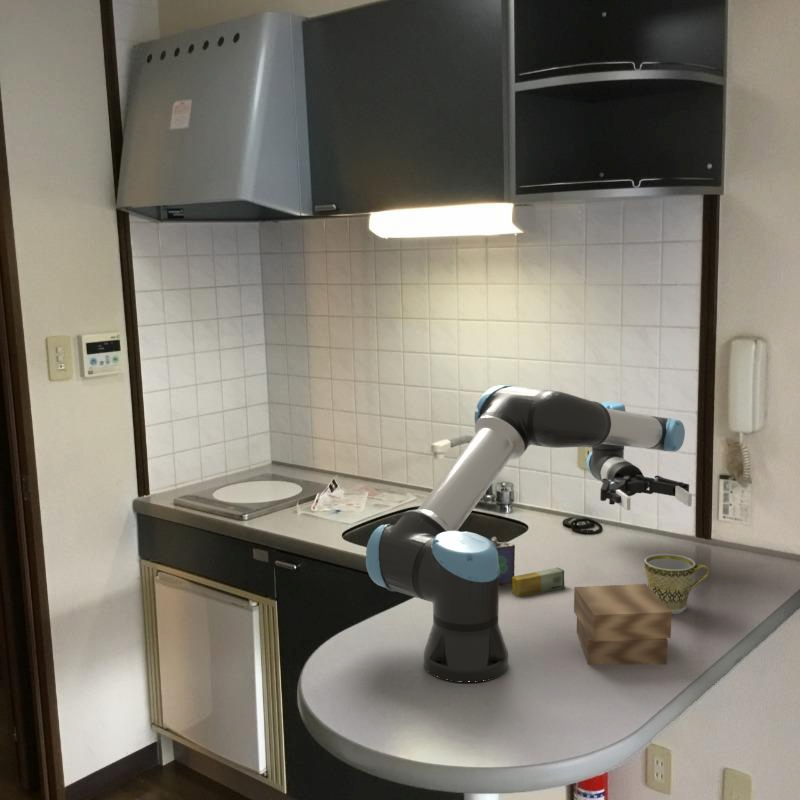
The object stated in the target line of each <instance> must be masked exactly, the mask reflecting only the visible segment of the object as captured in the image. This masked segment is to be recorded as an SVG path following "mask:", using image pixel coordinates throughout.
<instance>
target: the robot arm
mask: <svg viewBox="0 0 800 800" xmlns="http://www.w3.org/2000/svg"><path fill="white" fill-rule="evenodd" d="M476 408H477V410H475V411H474V432H475V435H474V436H473V438H471V440H470V441H469V443H467V445H466V446H465V448H464V449H463V450H462V451H461V453H460V454H459V455H458V456H457V458H456V459H455V461H454V462H453V463H452V464H451V466H450V467H449V468H448V470H447V471H446V472H445V473H444V475H443V476H442V478H441V479H440V480H439V481H438V483H437V484H436V485H435V486H434V488H432V490H431V492H430V493H429V494H428V495H427V496H426V498H425V499H424V500H423V501H422V503H421V505H419V507H418V508H417V509H411V510H407V511H405V512H404V513H403V515H402V516H401V517H400V518H399V520H397V522H396V523H395V524H391V523H387V524H381V525H379V526H378V527H377V528H375V530H373V532H372V533H371V535H370V538H369V539H368V541H367V544H366V549H365V566H366V570H367V573H368V576H369V577H370V579H371V580H372V581H373V583H374V584H375V585H377V586H380V587H381V588H382V587H383V588H386V589H387V590H388V591H390V592H398V593H400V594H403V595H404V594H405V595H407V596H410V597H414V598H417V599H420V600H423V601H427V602H430V603H431V604H432V608H433V609H432V616H433V618H432V619H433V621H432V627H431V629H430V632H429V636H428V639H427V641H426V645H425V647H424V650H423V666H424V668H425V670H426V669H427V670H428V671H429V672H430V673H431V674H430V673H429V672H428V671H427V670H426V671H427V672H428V673H429V674H430V675H432V674H433V675H432V676H434V675H435V676H434V677H436V676H438V677H440V678H443V679H442V680H444V679H448V680H452V681H451V682H453V681H462V682H468V681H470V682H474V683H476V682H475V681H482V682H484V681H483V680H487V681H489V680H488V679H491V680H493V679H492V678H494V679H496V678H498V677H500V676H501V674H502V675H503V674H504V673H505V672H506V671H507V670H508V667H509V652H508V648H507V646H506V643H505V639H504V637H503V633H502V631H501V628H500V624H499V609H500V607H499V602H500V601H499V599H500V598H499V591H500V590H499V589H500V587H499V586H500V585H499V573H500V567H499V563H498V551H497V549H496V547H495V545H494V544H493V543H492V540H491V539H490V538H487V537H485V536H482V535H481V534H478V533H475V532H471V531H466V530H465V531H459V529H460V528H461V527H462V525H463V524H464V522H465V521H466V519H467V518H468V517H469V516H470V515H471V513H472V511H473V510H474V509H475V507H476V506H477V505H478V503H479V502H480V501H481V499H482V498H483V496H484V495H485V494H486V492H487V491H488V490H489V488H490V487H491V485H492V484H493V483H494V481H495V480H496V479H497V478H498V476H499V475H500V474H501V472H502V470H504V468H505V467H506V465H507V464H508V462H509V461H510V460H516V459H519V458H521V457H522V456H523V455H524V453H525V452H526V450H527V449H528V447H529V446H538V447H544V448H554V449H555V448H556V449H557V448H560V449H561V448H563V449H564V448H591V451H590V452H589V454H588V456H587V458H586V468H587V470H588V472H589V473H590V474H591V475H592V476H593V478H594V479H596V480H598V481H600V482H601V488H600V501H602V502H604V501H605V502H606V501H607V500H609V503H608V504H609V505H613V506H614V505H615V504H618V505H619V506H621V508H623V509H625V510H626V511H631V496H634V495H636V494H648V495H652V494H654V493H655V494H660V495H666V496H669V497H674V498H675V499H676V500H678V502H680V503H682V504H684V505H685V506H687V507H692V504H693V503H692V499H693V493H692V492H690V484H689V483H686V482H683V481H677V480H673V479H669V478H665V477H663V476H660V475H654V477H649V476H648V477H647V476H644V474H643V472H642V470H641V469H640V468H639V467H638V466H636V465H634V464H633V463H631V462H630V461H628V460H626V459H625V458H624V456H625V453H624V452H625V447H630V448H631V447H633V448H641V449H646V450H647V449H649V450H657V451H663V452H672V453H673V452H677V451H679V450H681V448H682V447H683V445H684V442H685V435H686V432H685V431H686V430H685V426H684V423H683V422H682V421H681V420H679V419H676V418H670V417H660V416H653V415H648V414H641V413H636V412H629V411H627V410H626V406H625V405H624V404H623V403H622V402H617V401H602V402H597V401H593V400H590V399H585V398H584V397H579V396H576V395H573V394H570V393H567V392H563V391H557V390H550V389H549V390H547V389H540V388H531V387H525V386H517V385H512V384H508V385H495V386H492V387H490V388H489V389H487V390H486V391H485V392H484V393H483V394H482V395H481V397H480V398H479V400H478V402H477V404H476ZM497 676H498V677H497ZM438 677H437V678H438ZM495 677H496V678H495ZM440 678H439V679H440Z"/></svg>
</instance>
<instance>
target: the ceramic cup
mask: <svg viewBox="0 0 800 800" xmlns="http://www.w3.org/2000/svg"><path fill="white" fill-rule="evenodd" d="M701 568H705V569H706V573H705V574H704V575H703V576H702V577H700V578H699V579H697V580H696V581H695V582H694V583H693V584H692V582H693V577H694V575H695V573H696V572H697V570H699V569H701ZM644 569H645V574H646V578H647V584H648V585H647V586H648V587H649V588H650V589H651V590H652V591H653V592H654V593H655V594H656V595H657V596H658V598H659V599H660V600H661V601H662V602H663V603H664V604H665V605H666V606H667V607H668V608H669V610H670V611H671V612H672V615H679V614H681V613H683V612H684V610H685V611H686V609H687V605H688V600H689V596H690V592H691V590H692V589H694V588H695V587H697V585H698V584H699V583H700V582H701V581H702V580H705V579H706V578H707V577H708V576H709V574H710V569H709V566H708V565H706V564H704V563H698V564H696V562H695V561H694V560H693V559H692V558H689V557H688V556H685V555H680V554H674V553H656V554H651V555H649V556H647V557H645V558H644Z"/></svg>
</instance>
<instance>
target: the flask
mask: <svg viewBox="0 0 800 800" xmlns="http://www.w3.org/2000/svg"><path fill="white" fill-rule="evenodd" d="M497 539H498V538H497V537H496V536H492V537H490V538H489V540H491V542H492V543H493V544H494V545H495V547H496V549H497V551H498V563H499V567H500V573H499V586H507V585H512V577H513V576H515V568H516V567H515V566H516V565H515V562H516V561H515V559H516V557H515V556H516V552H515V550H516V545H515V544H514V543H512V542H508V541H503V542H502V541H501V542H499V541H498V540H497Z"/></svg>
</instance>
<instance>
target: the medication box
mask: <svg viewBox="0 0 800 800" xmlns="http://www.w3.org/2000/svg"><path fill="white" fill-rule="evenodd" d="M511 585H512V586H511V587H512V591H511V593H512V594H513V595H515V596H517V597H522V596H528V595H533V594H540V593H544V592H549V591H554V590H559V589H564V588H566V587H565V570H564V569H563V568H559V567H554V568H549V569H544V570H540V571H539V570H538V571H535V572H529V573H524V574H519V575H514V576H513V577H512V584H511Z"/></svg>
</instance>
